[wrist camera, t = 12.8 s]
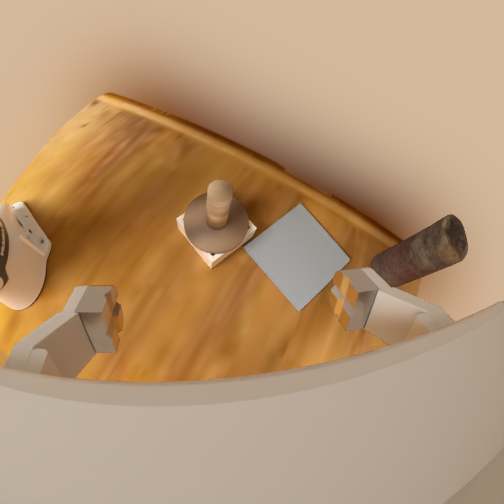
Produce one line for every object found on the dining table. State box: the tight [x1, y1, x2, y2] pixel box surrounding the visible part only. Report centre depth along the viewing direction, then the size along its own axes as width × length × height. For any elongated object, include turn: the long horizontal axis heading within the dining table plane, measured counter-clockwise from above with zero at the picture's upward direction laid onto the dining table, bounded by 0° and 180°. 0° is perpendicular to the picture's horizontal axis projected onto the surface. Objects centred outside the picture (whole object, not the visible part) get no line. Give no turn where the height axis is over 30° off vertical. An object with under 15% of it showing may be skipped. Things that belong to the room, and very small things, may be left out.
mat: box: [244, 203, 350, 311], centre depth 47 cm, size 14×14×1 cm
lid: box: [184, 179, 249, 254], centre depth 37 cm, size 10×10×10 cm
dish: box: [176, 213, 257, 269], centre depth 44 cm, size 9×9×4 cm
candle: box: [371, 214, 468, 288], centre depth 40 cm, size 8×7×20 cm
